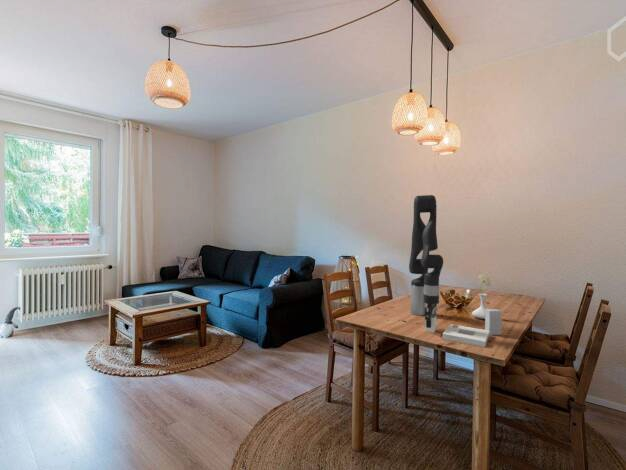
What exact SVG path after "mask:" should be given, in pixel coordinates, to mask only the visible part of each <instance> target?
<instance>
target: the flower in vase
mask: <svg viewBox="0 0 626 470" xmlns="http://www.w3.org/2000/svg"><path fill="white" fill-rule="evenodd" d="M478 277H479V280H480V282H481V284H480V286H478V288H477V290H479V291H480V292H481V293H478V296H479V297H480V306H479V307H478V308H476V309H475V310H473V311H472V312H471V315H472V316H473V317H475V318H478V319H483V320H485V309H488V308H487V307H486V299H487V297H488V296H489V294H488V293H483V292H485V291H487V290H488V289H484V290H482V286H483V285H485V287H490V286H491V282H490V279H489V278H488V277H487V276H486V275H483V273H482V274H480V275H478Z"/></svg>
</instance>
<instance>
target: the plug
mask: <svg viewBox="0 0 626 470" xmlns="http://www.w3.org/2000/svg"><path fill="white" fill-rule="evenodd" d="M428 318H429V316H428ZM424 331H425V332H430V333H435V332H436V331H437V314H433V316H432V318H431V328H427V327H426V320H425V319H424Z"/></svg>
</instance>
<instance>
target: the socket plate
mask: <svg viewBox="0 0 626 470" xmlns="http://www.w3.org/2000/svg"><path fill="white" fill-rule="evenodd" d="M489 332H490V331H488V330H485V329H481V328H476V327H469V326H462V325H458V324H452V323H450V324H449V325H448V326H447V327H446V329H445V330H444V332H443V333H442V340H445V341H451V342H456V343H461V344H465V345H466V344H467V345H471V346H475V345H476V346H477V347H481V346H482V348H486V346H487V343H488V341H489V338H490V335H489Z"/></svg>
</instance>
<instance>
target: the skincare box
mask: <svg viewBox="0 0 626 470" xmlns="http://www.w3.org/2000/svg"><path fill="white" fill-rule="evenodd" d="M484 320H485V321H484V322H485V323H484V330H488V331H490V332H489V336H500V335H502V310H500V309H498V308H487V309H485V319H484Z"/></svg>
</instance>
